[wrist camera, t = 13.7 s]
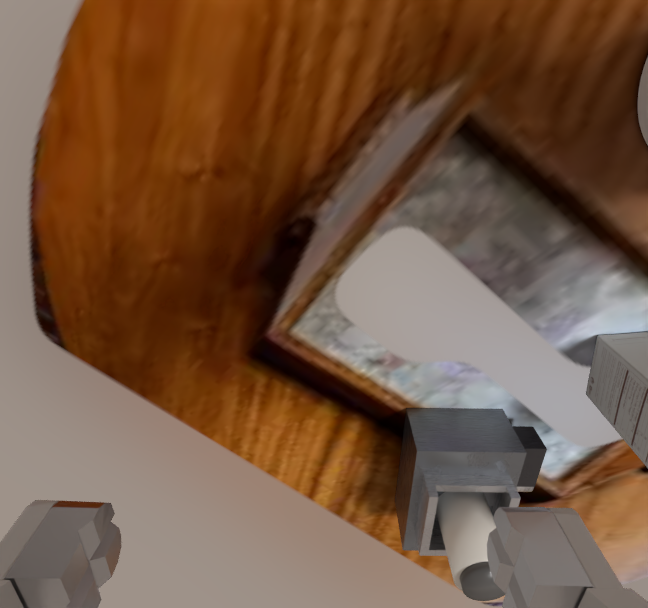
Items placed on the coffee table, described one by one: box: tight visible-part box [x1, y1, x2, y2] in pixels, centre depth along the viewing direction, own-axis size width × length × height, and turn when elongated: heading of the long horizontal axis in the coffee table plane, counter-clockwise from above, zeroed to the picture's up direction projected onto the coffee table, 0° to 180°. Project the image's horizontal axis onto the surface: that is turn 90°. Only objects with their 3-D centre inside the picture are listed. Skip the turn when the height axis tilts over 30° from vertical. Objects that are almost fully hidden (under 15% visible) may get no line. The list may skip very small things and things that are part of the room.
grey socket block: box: [395, 408, 547, 556], centre depth 44 cm, size 13×14×8 cm
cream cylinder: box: [436, 492, 505, 601], centre depth 39 cm, size 5×5×8 cm
